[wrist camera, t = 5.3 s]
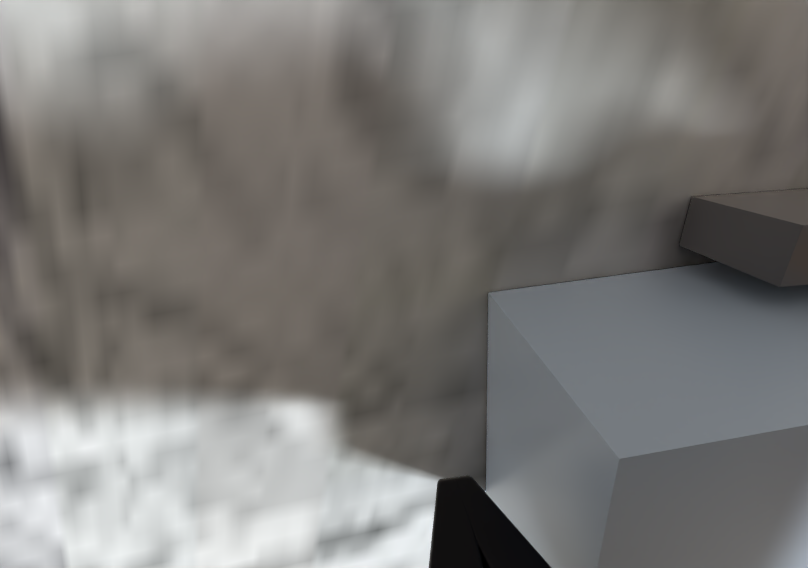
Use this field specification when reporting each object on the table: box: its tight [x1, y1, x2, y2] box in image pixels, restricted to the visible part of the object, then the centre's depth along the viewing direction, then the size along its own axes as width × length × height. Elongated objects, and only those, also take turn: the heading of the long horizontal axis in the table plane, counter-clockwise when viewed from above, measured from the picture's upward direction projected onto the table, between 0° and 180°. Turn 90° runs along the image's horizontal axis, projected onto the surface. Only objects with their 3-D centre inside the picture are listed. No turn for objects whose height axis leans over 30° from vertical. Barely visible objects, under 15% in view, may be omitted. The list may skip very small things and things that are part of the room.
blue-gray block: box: [486, 262, 808, 568], centre depth 9 cm, size 8×7×5 cm
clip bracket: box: [679, 188, 808, 287], centre depth 11 cm, size 5×11×2 cm, turn 2°
